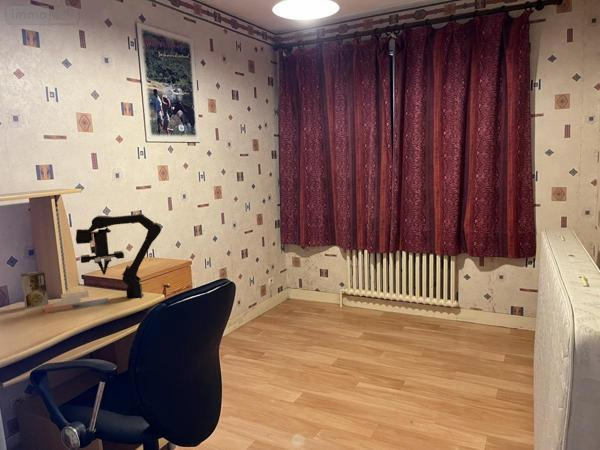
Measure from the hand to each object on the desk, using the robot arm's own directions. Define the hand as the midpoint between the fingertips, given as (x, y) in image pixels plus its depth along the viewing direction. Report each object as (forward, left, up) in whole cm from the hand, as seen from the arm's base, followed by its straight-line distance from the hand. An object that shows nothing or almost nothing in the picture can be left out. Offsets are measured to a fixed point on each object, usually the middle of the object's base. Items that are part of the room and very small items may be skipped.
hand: (104, 274), depth 213 cm
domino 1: (+12, +8, -11) cm, 19 cm away
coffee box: (+31, +2, -13) cm, 34 cm away
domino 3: (+6, +6, -7) cm, 11 cm away
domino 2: (+9, +7, -9) cm, 15 cm away
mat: (+9, +7, -13) cm, 17 cm away
